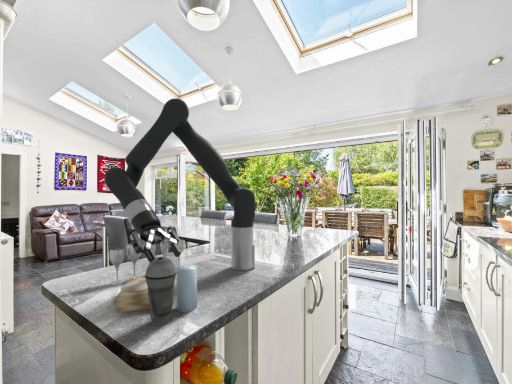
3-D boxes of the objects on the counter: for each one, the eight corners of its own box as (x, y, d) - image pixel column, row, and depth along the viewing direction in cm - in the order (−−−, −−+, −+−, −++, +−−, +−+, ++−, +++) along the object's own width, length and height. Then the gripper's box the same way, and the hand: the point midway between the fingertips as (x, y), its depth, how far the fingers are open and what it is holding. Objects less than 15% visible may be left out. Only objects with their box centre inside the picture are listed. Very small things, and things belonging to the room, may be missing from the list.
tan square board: (168, 288, 83) (168, 274, 83) (164, 306, 70) (164, 290, 70) (129, 292, 80) (129, 277, 80) (116, 312, 67) (116, 295, 67)
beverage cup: (150, 314, 65) (150, 237, 65) (179, 313, 66) (179, 236, 66) (140, 329, 58) (140, 242, 58) (172, 328, 58) (172, 242, 59)
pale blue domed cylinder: (196, 302, 72) (196, 263, 72) (197, 310, 67) (197, 269, 67) (177, 304, 71) (177, 265, 71) (176, 313, 66) (175, 271, 66)
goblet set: (111, 286, 85) (111, 247, 85) (107, 282, 90) (107, 244, 90) (188, 269, 104) (188, 237, 104) (182, 266, 108) (181, 235, 108)
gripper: (125, 210, 71) (152, 255, 66) (166, 207, 84) (192, 245, 78) (115, 227, 74) (139, 273, 68) (156, 222, 86) (180, 260, 80)
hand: (167, 258), depth 73 cm, fingers open, 8 cm apart
